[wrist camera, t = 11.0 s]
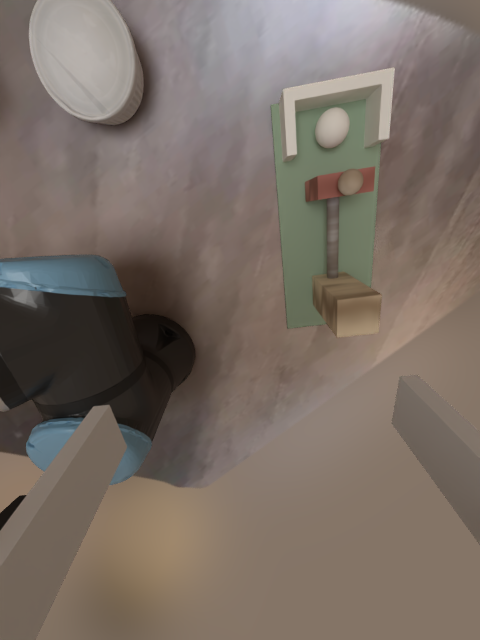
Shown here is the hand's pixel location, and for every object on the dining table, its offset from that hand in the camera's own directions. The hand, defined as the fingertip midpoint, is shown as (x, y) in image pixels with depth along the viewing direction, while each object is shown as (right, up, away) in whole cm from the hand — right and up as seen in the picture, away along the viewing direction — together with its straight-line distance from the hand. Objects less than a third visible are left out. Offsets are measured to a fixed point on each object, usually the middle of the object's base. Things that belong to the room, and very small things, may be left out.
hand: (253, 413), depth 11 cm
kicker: (+13, +16, +26) cm, 33 cm away
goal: (+11, +31, +20) cm, 38 cm away
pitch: (+13, +18, +26) cm, 34 cm away
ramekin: (-17, +35, +20) cm, 43 cm away
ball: (+11, +28, +19) cm, 36 cm away
